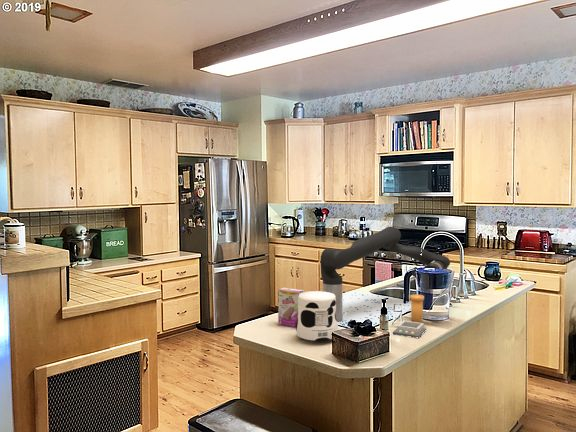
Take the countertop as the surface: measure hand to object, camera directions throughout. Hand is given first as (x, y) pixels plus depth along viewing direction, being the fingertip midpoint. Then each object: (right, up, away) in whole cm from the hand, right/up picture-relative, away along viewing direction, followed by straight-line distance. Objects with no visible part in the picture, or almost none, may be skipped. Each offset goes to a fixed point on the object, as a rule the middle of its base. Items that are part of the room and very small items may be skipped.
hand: (424, 276), depth 220 cm
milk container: (-52, -22, -26) cm, 62 cm away
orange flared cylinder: (-6, -21, -9) cm, 24 cm away
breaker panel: (-12, -22, -19) cm, 31 cm away
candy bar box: (-62, -21, -8) cm, 67 cm away
